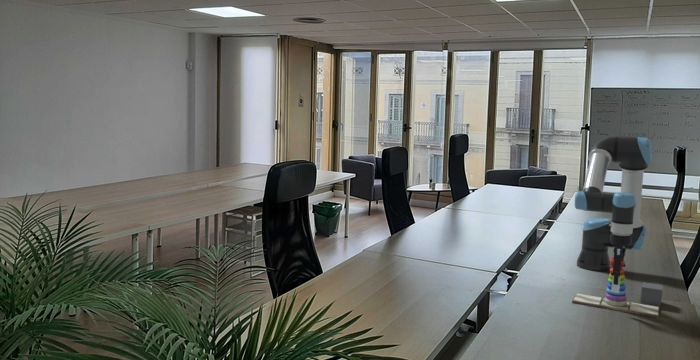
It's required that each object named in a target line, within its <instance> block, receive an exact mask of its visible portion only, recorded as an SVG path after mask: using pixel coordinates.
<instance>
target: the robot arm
mask: <svg viewBox="0 0 700 360" xmlns="http://www.w3.org/2000/svg"><path fill="white" fill-rule="evenodd" d="M652 153H653V152H652V142H651V140H650V138H648V137H640V136H615V135H611V136H606V137H605V138H602V139H601V140H599V141H597V142H596V143H595V144H594V145H593V146H592V147H591V148H590V151H589V153H588V157H587V158H588V159H587V160H588V165H587V166H588V168H587V171H586V175H585V178H584V179H585V180H584V183H583V187H582V190H580V191H576V193H575V196H574V208H575V209H576V210H581V211H584V212H586V211H588V212H597V213H598V212H599V213H608V214H611V219H609V218H604V217H602V218H601V217H599V218H598V217H597V218H589V219H586V220H585V221H584V222H583V228H582V239H581V240H582V243H581V249H580V250H581V251H580V252H579V254H578V257H577V260H576V266H577V267H578V268H581V269H583V270H588V271H596V272H602V271H603V272H605V271H610V268H612V266H611V264H610V260H611V258H610V256H609V255H610V254H609V248H613V257H614V265H613V273H611V272H610V273H611V275H612V287H611V292H614V293H619V289H620V277H621V276H620V275H621V274H620V272H621V264H622V261H623V260H624V261H625V256H626V252H627V250H628V251H641V249H642V247H643V244H644V241H645V236H646V232H647V226H646V225H644V222H643V221H642V219H641V210H642V209H641V208H642V206H641V205H642V195H643V194H642V193H643V185H644V184H643V183H644V182H643V181H644V172H645V171H646V170H647V169H648V168H649V165H652V163H653V155H652ZM611 163H618V168H619V169H620V170H622V171H621V183H620V192H615V193H614V194H613V193H604V188H605V187H604V186H605V182H606V177H607V171H608V166H609V165H610V164H611ZM624 268H626V264H624V266H623V268H622V269H624Z"/></svg>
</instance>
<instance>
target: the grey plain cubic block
mask: <svg viewBox="0 0 700 360" xmlns="http://www.w3.org/2000/svg"><path fill="white" fill-rule="evenodd" d="M640 293H641V295H640V303H639V304H646V305H652V306H658V307H659V308H661V307H662V298H663V297H662V295H663V284H656V283H649V282H642V284H641V291H640Z"/></svg>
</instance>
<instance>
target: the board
mask: <svg viewBox="0 0 700 360" xmlns="http://www.w3.org/2000/svg"><path fill="white" fill-rule="evenodd" d="M604 299H605V297H600V296H594V295H588V294H582V293H575V295H574V297H573V299H572V300H571V301H572V302H571V303H572V304H578V305H584V306H589V307H593V308H600V309H607V310H612V311H618V312H623V313H629V314H634V313H635V315H640V314H641V316H646V315H647V316H648V317H653V318H657V319H659V318H660V307H656V306H650V305H644V304H640V303H636V302H632V301H631V302H630V301H627V304H626V305H625V306H613V305H610V304H607V303H606V302H605V300H604Z"/></svg>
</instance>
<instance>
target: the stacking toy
mask: <svg viewBox="0 0 700 360" xmlns="http://www.w3.org/2000/svg"><path fill="white" fill-rule="evenodd" d="M625 263H626V261H625V259H624V260H623V261H622V264H621V272H620V274H621V275H620V276H621V277H620V289H619V293H614V292H611V287H612V275H611V273H613V265H614V256H612V257H611V258H610V264H611V268H610V270H609V272H610V273H609V274H608V278H607V281H608V282H607V284H606V285H607V287H606V289H605V290H606V292H605V294H604V295H605V297H604V298H605V299H604V300H605V302H606V303H607V304H610V305H613V306H625V305H626V304H627V302H628V301H627V295H626V294H627V290H626V288H627V287H626V281H625V274H624V273H625V269H624V267H623V266H624V264H625ZM625 265H626V264H625ZM622 268H623V269H622Z"/></svg>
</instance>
